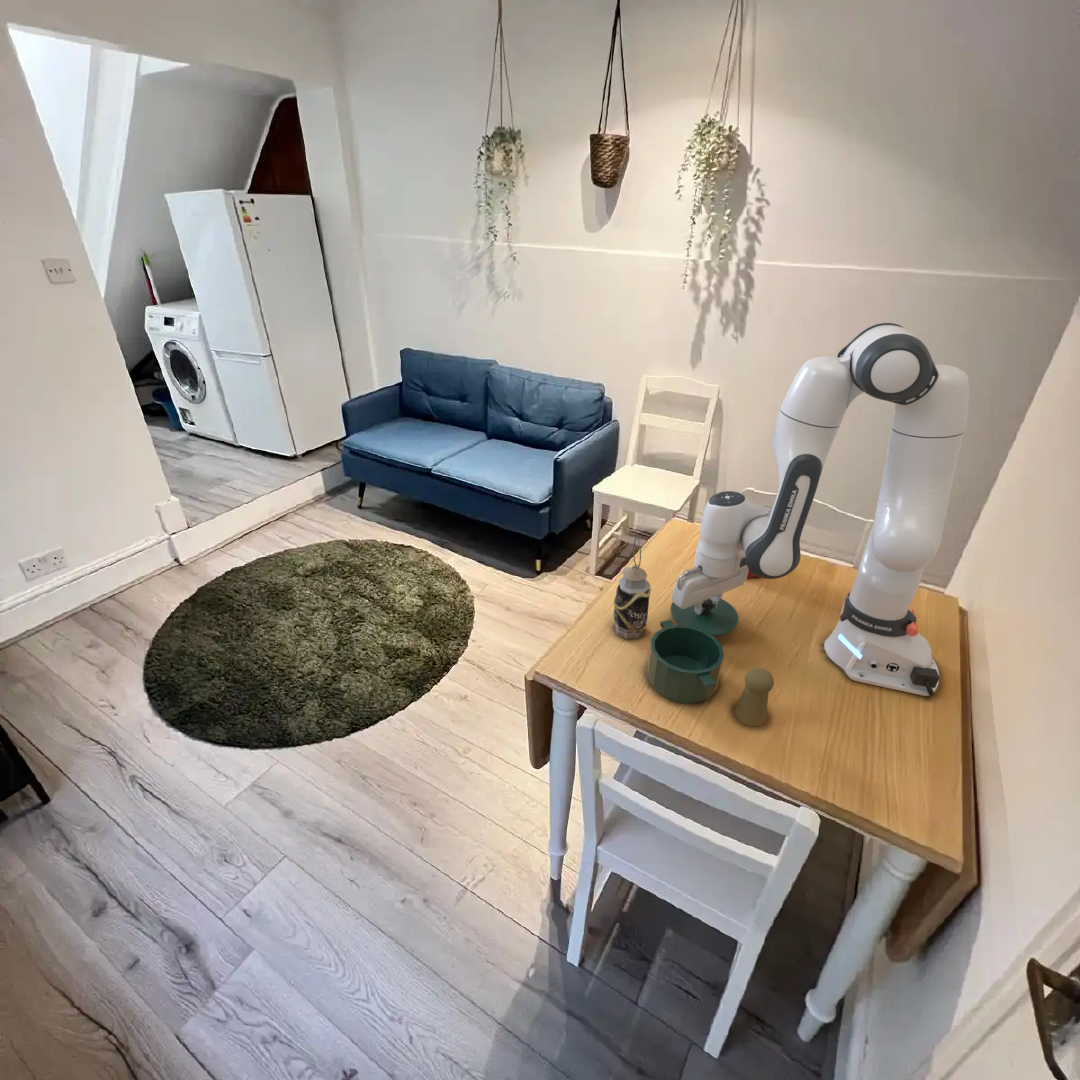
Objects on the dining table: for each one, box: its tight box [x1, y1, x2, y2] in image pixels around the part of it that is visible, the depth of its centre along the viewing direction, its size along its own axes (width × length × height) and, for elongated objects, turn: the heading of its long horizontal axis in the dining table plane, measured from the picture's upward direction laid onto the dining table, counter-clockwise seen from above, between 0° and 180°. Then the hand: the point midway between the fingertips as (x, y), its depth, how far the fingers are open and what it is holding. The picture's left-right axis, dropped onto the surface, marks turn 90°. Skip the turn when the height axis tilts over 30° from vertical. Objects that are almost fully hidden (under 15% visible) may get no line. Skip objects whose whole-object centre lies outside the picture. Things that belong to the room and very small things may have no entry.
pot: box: [646, 619, 725, 705], centre depth 121 cm, size 15×20×8 cm
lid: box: [669, 597, 739, 637], centre depth 135 cm, size 16×16×5 cm
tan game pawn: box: [734, 667, 775, 728], centre depth 111 cm, size 6×6×11 cm
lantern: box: [613, 537, 652, 640], centre depth 130 cm, size 9×8×25 cm
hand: (705, 609), depth 135 cm, fingers closed on lid, 2 cm apart
